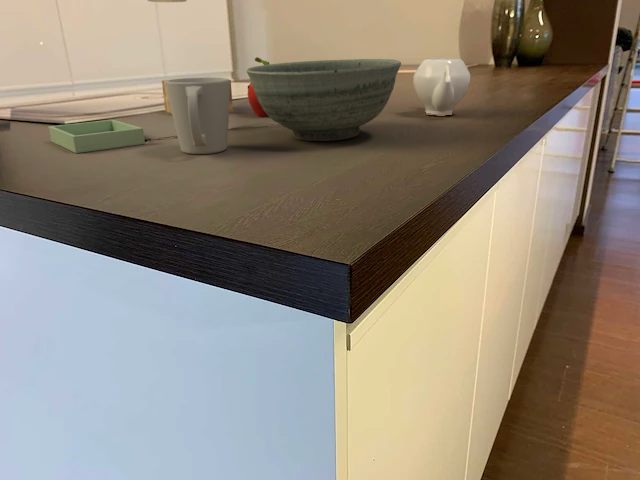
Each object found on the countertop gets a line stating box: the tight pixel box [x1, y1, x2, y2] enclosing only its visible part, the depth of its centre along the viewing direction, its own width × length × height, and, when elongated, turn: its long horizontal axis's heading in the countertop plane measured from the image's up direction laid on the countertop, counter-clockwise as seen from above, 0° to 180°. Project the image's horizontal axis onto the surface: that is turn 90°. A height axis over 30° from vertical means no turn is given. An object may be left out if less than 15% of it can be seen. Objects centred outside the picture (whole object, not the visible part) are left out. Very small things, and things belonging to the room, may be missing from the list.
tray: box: [48, 119, 146, 154], centre depth 73 cm, size 11×9×2 cm
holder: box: [161, 79, 234, 114], centre depth 97 cm, size 9×9×6 cm
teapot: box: [412, 56, 472, 114], centre depth 92 cm, size 10×20×9 cm, turn 174°
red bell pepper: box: [247, 56, 270, 118], centre depth 91 cm, size 8×7×10 cm
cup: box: [166, 76, 231, 155], centre depth 65 cm, size 8×10×8 cm
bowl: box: [245, 58, 402, 142], centre depth 74 cm, size 21×21×10 cm
